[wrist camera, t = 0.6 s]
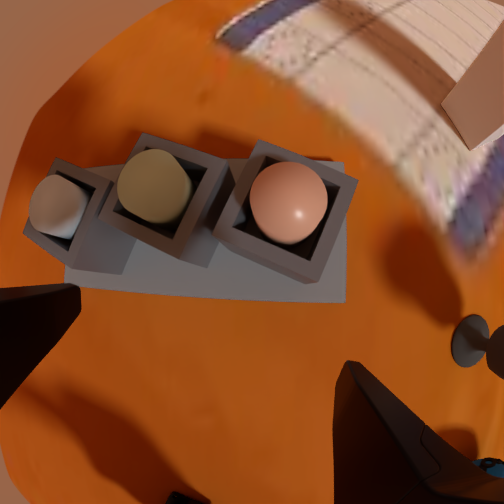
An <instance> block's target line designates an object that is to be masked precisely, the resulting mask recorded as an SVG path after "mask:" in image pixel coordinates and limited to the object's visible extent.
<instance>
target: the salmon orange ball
mask: <svg viewBox="0 0 504 504" xmlns="http://www.w3.org/2000/svg"><path fill="white" fill-rule="evenodd" d="M250 204H251V209H252V212H253V215H254V219H255V222H256V225H257V228H258V231H259V232H260V234H261V235H262V237H263V238H264V239H265V240H267V241H268V242H269V243H271V244H273V245H275V246H278V247H285V248H287V247H294V246H297V245H300V244H302V243H303V242H305V241H306V240H307V239H308V238H309V237H310V236H311V234H312V233H313V231H314V230H315V228H316V227H317V225H318V224H319V222H320V221H321V219H322V218H323V216H324V214H325V211H326V208H327V192H326V188H325V185H324V183H323V181H322V180H321V178H320V177H319V176H318V175H317V174H316V173H315V172H314V171H313V170H312V169H310V168H309V167H307V166H305V165H303V164H300V163H296V162H279V163H276V164H273V165H271V166H269V167H267V168H265V169H264V170H263V171H262V172H261V173H260V174H259V175H258V176H257V177H256V179H255V180H254V182H253V184H252V187H251V191H250Z"/></svg>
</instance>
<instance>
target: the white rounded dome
mask: <svg viewBox="0 0 504 504" xmlns="http://www.w3.org/2000/svg"><path fill="white" fill-rule="evenodd" d="M92 196H93V194H92V193H90V192H88V191H86V190H84V189H83V188H81V187H79V186H77V185H75V184H74V183H72V182H70V181H68V180H66V179H65V178H63V177H61V176H59V175H50V176H48V177H46V178H44V179H43V180H42V181H41V182H40V183H39V184H38V186H37V187H36V189H35V190H34V192H33V194H32V197H31V200H30V204H29V218H30V222H31V224H32V226H33V227H34V228H35V229H36V230H37V231H40V232H43V233H47V234H50V235H54V236H58V237H61V238H65V239H68V240H72V241H73V239H74V236H75V234H76V231H77V229H78V227H79V224H80V222H81V220H82V217H83V215H84V213H85V211H86V208H87V206H88V204H89V202H90V200H91V198H92Z"/></svg>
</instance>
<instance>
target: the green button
mask: <svg viewBox="0 0 504 504" xmlns="http://www.w3.org/2000/svg"><path fill="white" fill-rule="evenodd" d="M196 190H197V187H196V186H195V184H194V183H193V181H192V180H191V179H190V177H189V176H188V175H187V174H186V172H185V171H184V170H183V168H182V167H181V166H180V164H179V163H178V162H177V160H176V159H175V158H174V157H173V156H172V155H171V154H170V153H168V152H166V151H164V150H160V149H150V150H146V151H143V152H140V153H139V154H137V155H135V156H134V157H133V158H131V159H130V160H129V161H128V162H127V163H126V165H125V166H124V168H123V169H122V171H121V173H120V176H119V179H118V184H117V193H118V197H119V200H120V202H121V204H122V205H123V206H124V208H125V209H127V210H128V211H130V212H131V213H133V214H135V215H137V216H139V217H140V218H142V219H144V220H146V221H148V222H150V223H151V224H153V225H155V226H157V227H159V228H161V229H165V230H174V229H178V227H179V225H180V223H181V221H182V219H183V217H184V215H185V213H186V210H187V208H188V206H189V204H190V202H191V200H192V198H193V196H194V194H195V192H196Z"/></svg>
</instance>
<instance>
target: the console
mask: <svg viewBox="0 0 504 504" xmlns="http://www.w3.org/2000/svg"><path fill="white" fill-rule="evenodd" d="M150 149H160V150H164V151H166V152H168V153H170V154H171V155H172V156H173V157H174V158H175V159H176V160H177V162H178V163H179V164H180V166H181V167H182V168H183V170H184V171H185V172H186V174H187V175H188V176H189V177H190V179H191V180H192V181H193V183H194V184H195V186H196V187H197V190H196V192H195V194H194V196H193V198H192V200H191V202H190V204H189V206H188V208H187V210H186V213H185V215H184V217H183V219H182V221H181V223H180V225H179V227H178V229H174V230H165V229H161V228H159V227H157V226H155V225H153V224H151V223H150V222H148V221H146V220H144V219H142V218H140V217H139V216H137V215H135V214H133V213H131V212H130V211H128V210H127V209H125V208H124V206H123V205H122V204H121V202H120V200H119V197H118V193H117V184H118V179H119V176H120V173H121V171H122V169H123V168H124V166H125V165H126V163H127V162H128V161H129V160H130V159H131V158H133V157H134V156H135V155H137V154H139V153H140V152H143V151H146V150H150ZM279 162H296V163H300V164H303V165H305V166H307V167H309V168H310V169H312V170H313V171H314V172H315V173H316V174H317V175H318V176H319V177H320V178H321V180H322V181H323V183H324V185H325V188H326V192H327V208H326V211H325V214H324V216H323V218H322V219H321V221H320V222H319V224H318V225H317V227H316V228H315V230H314V231H313V233H312V234H311V236H310V237H309V238H308V239H307V240H306V241H305V242H303V243H302V244H300V245H297V246H294V247H287V248H285V247H278V246H275V245H273V244H271V243H269V242H268V241H267V240H265V239H264V238H263V237H262V235H261V234H260V232H259V231H258V228H257V225H256V222H255V219H254V215H253V212H252V209H251V204H250V191H251V187H252V184H253V182H254V180H255V179H256V177H257V176H258V175H259V174H260V173H261V172H262V171H263V170H264V169H265V168H267V167H269V166H271V165H273V164H276V163H279ZM50 175H59V176H61V177H63V178H65V179H66V180H68V181H70V182H72V183H74V184H75V185H77V186H79V187H81V188H83V189H84V190H86V191H88V192H90V193H92V194H93V196H92V198H91V200H90V202H89V204H88V206H87V208H86V211H85V213H84V215H83V217H82V220H81V222H80V224H79V227H78V229H77V231H76V234H75V236H74V239H73V241H72V240H68V239H65V238H61V237H58V236H54V235H50V234H47V233H43V232H40V231H37V230H36V229H35V228H34V227H33V226H32V224H31V222H30V218H29V217H28V220H27V222H26V225H25V228H24V231H23V234H24V235H26V236H27V237H28V238H30V239H31V240H32V241H33V242H35V243H36V244H37V245H39V246H40V247H41V248H43V249H44V250H46V251H47V252H48V253H50V254H51V255H52V256H54V257H55V258H57V259H58V260H60V261H61V262H62V263H64V264H65V277H64V283H72V284H75V285H77V286H80V287H89V288H98V289H107V290H117V291H127V292H137V293H148V294H160V295H173V296H186V297H201V298H217V299H235V300H255V301H281V302H319V303H345V300H346V258H347V236H346V213H347V210H348V208H349V205H350V202H351V200H352V197H353V194H354V191H355V189H356V186H357V183H358V180H357V179H355V178H353V177H351V176H348V175H346V174H344V162H332V161H316V160H311V159H309V158H307V157H304V156H302V155H299V154H297V153H294V152H291V151H289V150H286V149H284V148H281V147H278V146H276V145H273V144H270V143H268V142H265V141H262V140H259V139H258V141H257V143H256V145H255V147H254V149H253V151H252V153H251V155H250V157H249V159H222V158H219V157H216V156H213V155H210V154H207V153H205V152H202V151H199V150H196V149H193V148H190V147H187V146H184V145H181V144H178V143H175V142H172V141H169V140H166V139H162V138H159V137H156V136H153V135H149V134H146V133H142V134H141V136H140V138H139V139H138V141H137V143H136V145H135V146H134V148H133V150H132V152H131V153H130V155H129V157H128V159H127V161H126V162H125V164H118V165H109V166H100V167H91V168H81V167H78V166H76V165H73V164H71V163H69V162H66V161H64V160H61V159H59V158H57V157H56V158H55V160H54V162H53V164H52V166H51V168H50V170H49V172H48V174H47V176H46V177H48V176H50Z"/></svg>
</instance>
